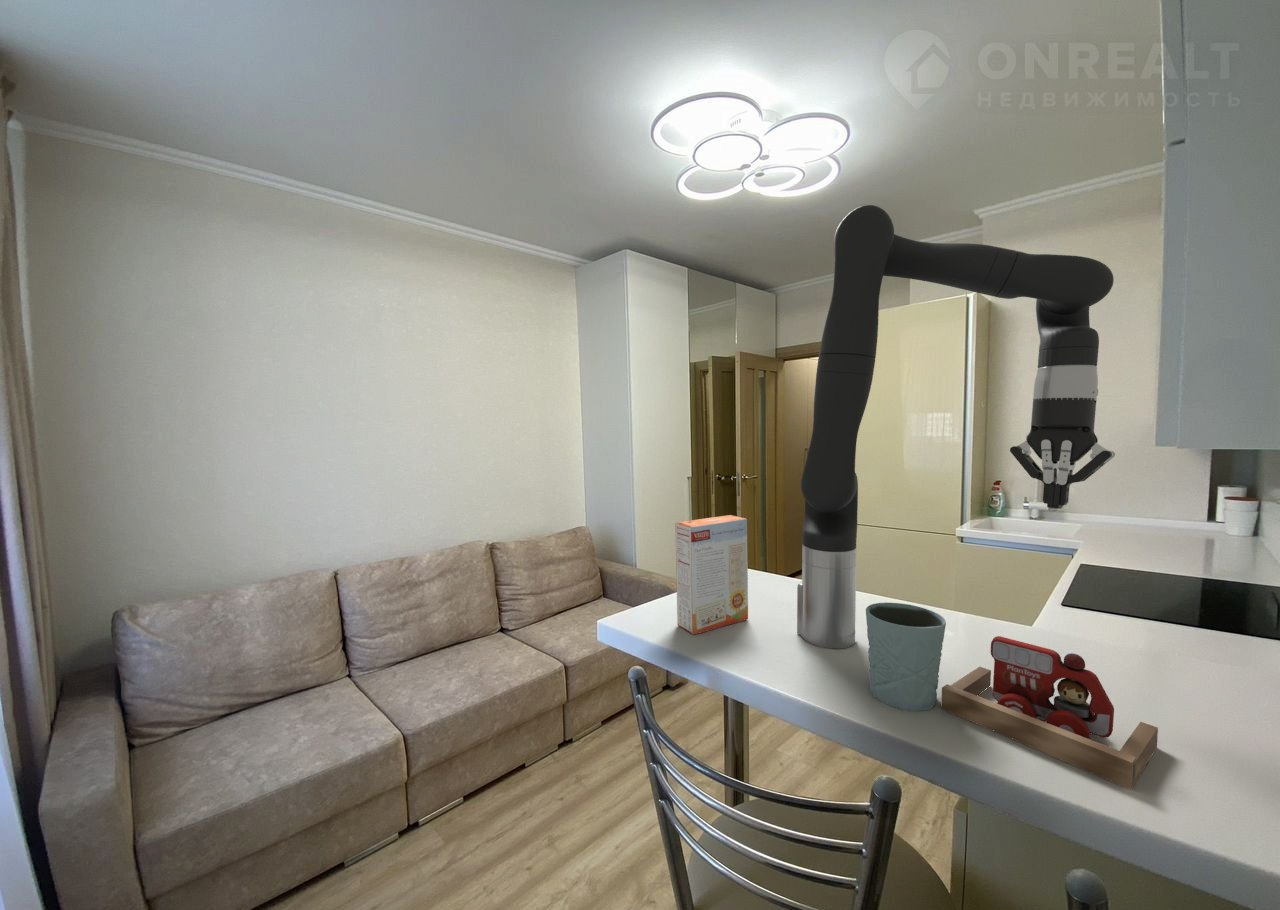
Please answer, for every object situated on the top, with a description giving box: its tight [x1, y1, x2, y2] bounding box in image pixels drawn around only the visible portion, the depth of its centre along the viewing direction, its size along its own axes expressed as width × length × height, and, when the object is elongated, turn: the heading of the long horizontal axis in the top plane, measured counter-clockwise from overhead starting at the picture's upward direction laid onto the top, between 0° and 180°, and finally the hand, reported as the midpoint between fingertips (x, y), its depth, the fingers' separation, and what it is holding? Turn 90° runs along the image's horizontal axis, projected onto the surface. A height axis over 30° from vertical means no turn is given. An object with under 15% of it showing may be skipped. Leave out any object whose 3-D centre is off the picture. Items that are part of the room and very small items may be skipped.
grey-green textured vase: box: [865, 602, 947, 712], centre depth 72 cm, size 10×10×12 cm
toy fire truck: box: [990, 635, 1115, 739], centre depth 64 cm, size 7×12×10 cm, turn 42°
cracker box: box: [674, 514, 749, 635], centre depth 99 cm, size 14×6×21 cm, turn 120°
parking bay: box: [941, 666, 1159, 790], centre depth 64 cm, size 19×12×3 cm, turn 35°
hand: (1055, 507), depth 78 cm, fingers closed
